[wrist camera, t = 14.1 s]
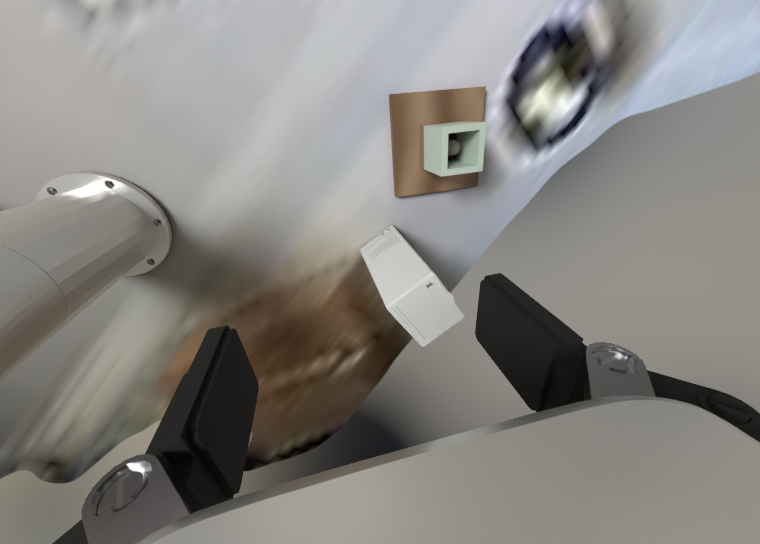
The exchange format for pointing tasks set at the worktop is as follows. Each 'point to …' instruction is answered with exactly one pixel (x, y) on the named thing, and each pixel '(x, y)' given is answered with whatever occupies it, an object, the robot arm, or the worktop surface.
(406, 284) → the skincare box
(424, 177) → the pin board
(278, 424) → the worktop surface
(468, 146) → the sleeve
